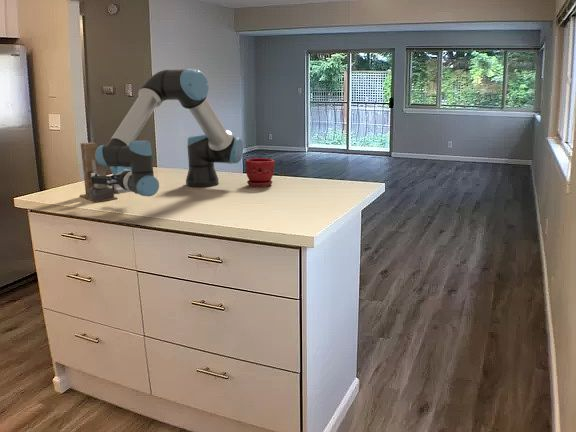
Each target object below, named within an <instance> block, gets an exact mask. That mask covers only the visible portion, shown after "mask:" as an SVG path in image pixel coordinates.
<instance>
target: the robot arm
mask: <svg viewBox="0 0 576 432" xmlns="http://www.w3.org/2000/svg"><path fill="white" fill-rule="evenodd" d="M137 93H138V94H137V95H138V97H137V98H136V100H135V101H134V103H133V104H132V106H131V107H130V109H129V110H128V112H127V113H126V115H125V117H124V118H123V120H122V121H121V123H120V124H119V126H118V128H117V129H116V130H115V132H114V133H113V135H112V136H111V138H110V140H109V141H108V143H107V144H101V145H99V146H97V149H96V152H95V158H96V160H97V162H98V163H99V164H100V165H104V166H106V167H117V166H121V167H131V170H127V169H124V172H122V173H121V174H119V175H113V174H112V175H106V176H99V175H97V174H94V173H91V181H92V184H105V185H107V186H111V185H112V184H118V185H120V187H121V188H123V189H125V190H128V191H131V192H130V193H134V194H135V195H140V196H142V197H153V196H155V195H156V194H157V193H158V191H159V188H160V182H159V180H158V179H157V178H156V177H155V176H154V173H155V172H154V165H153V151H152V145H151V142H150V141H149V140H143V139H141V140H136V139H137V138H138V136H139V134H140V133H141V131H142V129H143V128H144V127H145V125H146V123H147V122H148V120H149V119H150V117H151V116H152V114H153V112H154V111H155V109H156V108H159V107H160V106H161V105H162V103H163V102H165V101H173V100H174V101H175V100H176V101H178V102H179V103H180V105H181V106H182V107H183V108H184V109H187V110H188V111H189V112H190V114H191V115H192V116H193V118H194V119H195V121H196V122H197V124H198V125H199V127H200V129H201V130H202V132H203V133H204V134H198V135H192V136H191V135H190V136H188V138H187V157H188V158H187V159H188V171H187V173H186V174H187V175H186V179H185V185H186V186H187V187H192V188H202V187H203V188H204V187H213V186H217V185H219V184H220V183H219V177H218V174H217V172H216V168H215V163H218V164H228V165H229V164H238V163H239V162H240V161H241V160H242V157H243V154H244V142H243V140H242V138H241V137H238V136H237V137H235V136H234V135H233V133H232V132H231V131H230V130H229V129H226V128H225V127H224V125H223V123H222V121H221V120H220V118H219V116H218V114H217V113H216V112H215V110H214V108H213V107H212V105H211V103H210V102H209V100H208V98H207V97H208V94H209V85H208V80H207V77H206V75H205V74H204V73H203V72H202V71H200V70H199V69H194V68H186V69H163V70H159V71H158V72H156V73H155V74H153V75H152V76H150V77H149V78H148V79H147V80H146V81H145V82H144V84H143V85H141V87H140V89H139V91H138V92H137Z"/></svg>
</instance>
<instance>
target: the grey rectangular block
mask: <svg viewBox="0 0 576 432" xmlns="http://www.w3.org/2000/svg"><path fill="white" fill-rule="evenodd" d="M92 169H93V173H94V174H97V175H99V176H107V166H104V165H100V164H99V163H98V162H97V160H96V159H92ZM107 186H108V185H105V184H94V189H96V190H101V189H108V188H107Z"/></svg>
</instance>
